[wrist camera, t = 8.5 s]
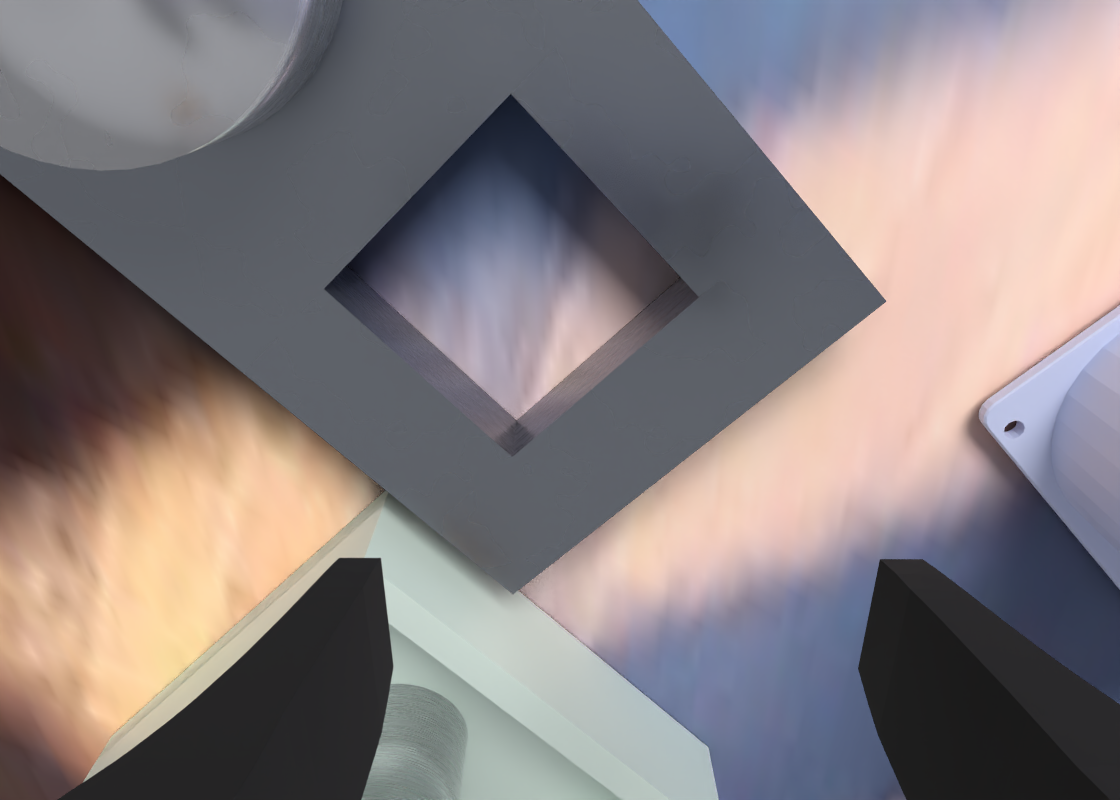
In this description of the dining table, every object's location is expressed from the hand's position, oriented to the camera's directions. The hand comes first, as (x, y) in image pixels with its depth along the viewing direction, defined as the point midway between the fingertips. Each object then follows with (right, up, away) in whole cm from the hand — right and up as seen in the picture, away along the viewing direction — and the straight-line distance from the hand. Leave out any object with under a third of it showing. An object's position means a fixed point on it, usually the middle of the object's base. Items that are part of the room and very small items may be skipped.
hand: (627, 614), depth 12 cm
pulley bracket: (-6, +10, +7) cm, 13 cm away
